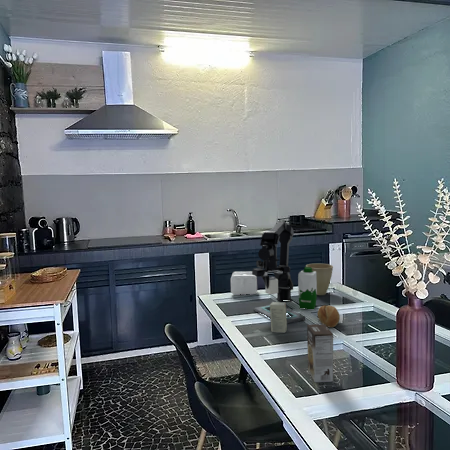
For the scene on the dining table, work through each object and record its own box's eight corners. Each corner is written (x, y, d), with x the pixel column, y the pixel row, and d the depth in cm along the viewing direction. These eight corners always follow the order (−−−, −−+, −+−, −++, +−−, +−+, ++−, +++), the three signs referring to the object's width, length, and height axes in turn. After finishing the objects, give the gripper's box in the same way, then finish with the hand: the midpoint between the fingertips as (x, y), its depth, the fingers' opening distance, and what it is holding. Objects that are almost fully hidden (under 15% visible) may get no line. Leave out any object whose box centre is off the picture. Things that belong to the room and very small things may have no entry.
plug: (273, 291, 209) (273, 276, 208) (278, 293, 204) (277, 278, 204) (265, 292, 207) (265, 277, 206) (270, 294, 203) (269, 279, 202)
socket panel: (278, 306, 215) (277, 303, 215) (305, 319, 193) (305, 316, 193) (254, 310, 209) (253, 307, 209) (279, 325, 187) (279, 321, 187)
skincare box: (287, 329, 181) (286, 302, 180) (285, 333, 177) (284, 305, 176) (272, 328, 184) (272, 301, 182) (270, 331, 179) (269, 304, 178)
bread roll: (319, 329, 181) (319, 311, 180) (315, 318, 195) (315, 301, 194) (342, 329, 180) (342, 311, 179) (336, 318, 194) (336, 301, 193)
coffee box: (307, 370, 143) (306, 324, 141) (325, 369, 143) (325, 323, 141) (314, 382, 134) (313, 334, 132) (333, 381, 134) (333, 333, 132)
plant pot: (330, 298, 227) (330, 269, 225) (303, 295, 233) (302, 267, 231) (335, 291, 240) (335, 263, 238) (309, 289, 246) (309, 262, 245)
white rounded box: (257, 290, 247) (257, 271, 246) (257, 295, 237) (256, 275, 235) (232, 290, 249) (232, 271, 248) (230, 295, 239) (230, 275, 237)
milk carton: (317, 305, 214) (317, 267, 212) (314, 310, 206) (314, 271, 204) (300, 304, 217) (300, 266, 215) (297, 309, 209) (296, 270, 207)
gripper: (278, 252, 215) (279, 282, 216) (246, 256, 207) (247, 286, 209) (290, 255, 205) (291, 286, 206) (257, 259, 197) (258, 291, 199)
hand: (271, 287), depth 205 cm, fingers closed on plug, 4 cm apart
